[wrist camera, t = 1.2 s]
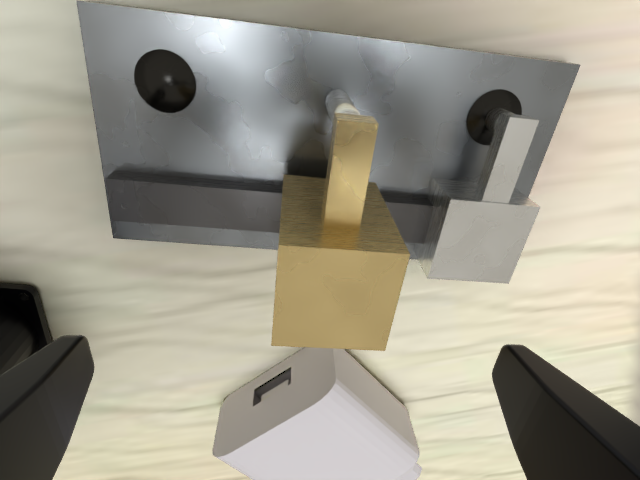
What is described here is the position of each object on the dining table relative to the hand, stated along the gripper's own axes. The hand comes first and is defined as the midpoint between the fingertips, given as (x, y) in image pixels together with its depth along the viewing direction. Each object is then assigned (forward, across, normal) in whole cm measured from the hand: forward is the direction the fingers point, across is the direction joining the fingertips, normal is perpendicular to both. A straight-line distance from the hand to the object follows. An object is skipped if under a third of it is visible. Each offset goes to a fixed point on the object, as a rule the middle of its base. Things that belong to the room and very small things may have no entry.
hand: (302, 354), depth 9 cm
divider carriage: (+11, -1, 0) cm, 11 cm away
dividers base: (+12, -1, -1) cm, 12 cm away
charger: (+13, -4, +19) cm, 23 cm away
